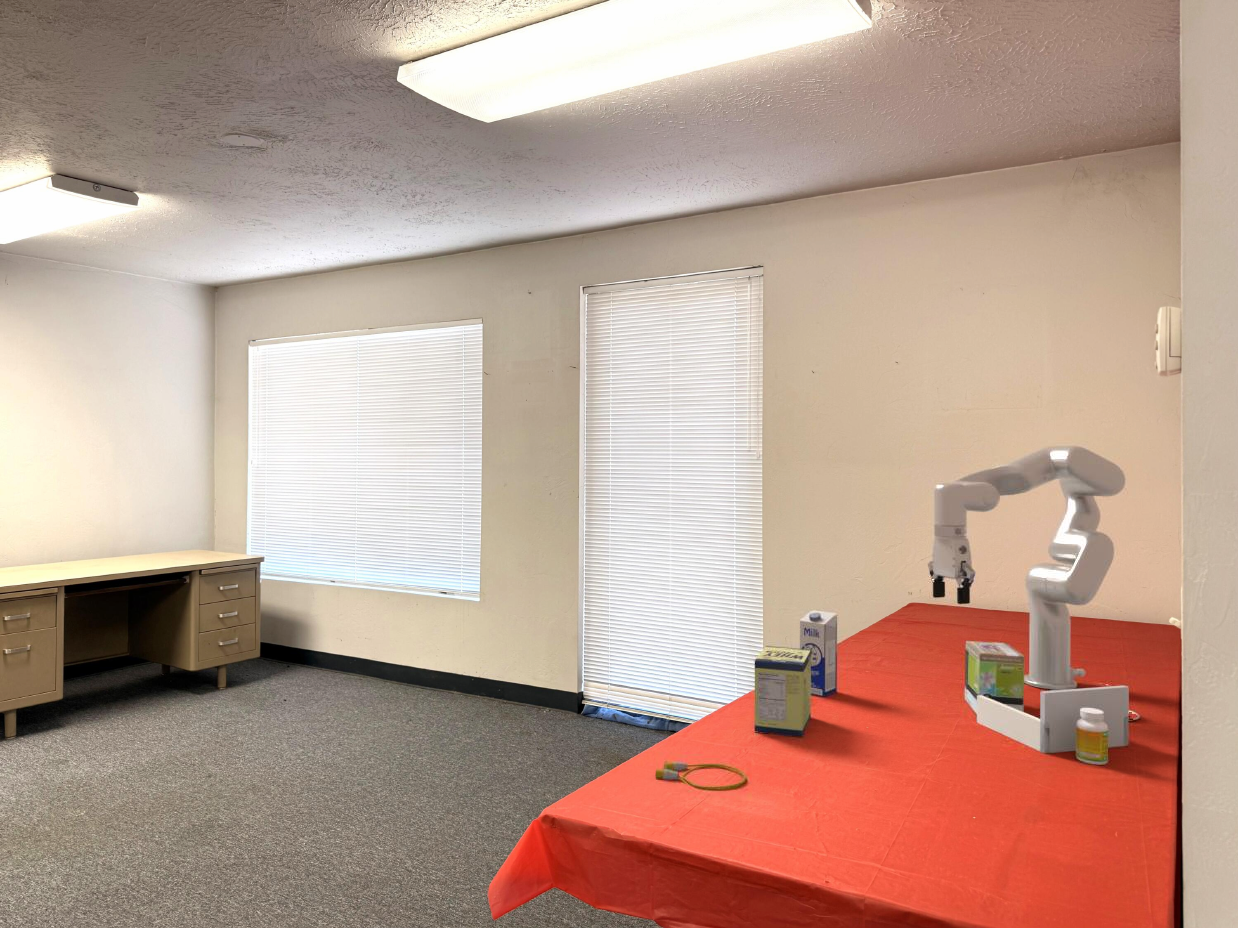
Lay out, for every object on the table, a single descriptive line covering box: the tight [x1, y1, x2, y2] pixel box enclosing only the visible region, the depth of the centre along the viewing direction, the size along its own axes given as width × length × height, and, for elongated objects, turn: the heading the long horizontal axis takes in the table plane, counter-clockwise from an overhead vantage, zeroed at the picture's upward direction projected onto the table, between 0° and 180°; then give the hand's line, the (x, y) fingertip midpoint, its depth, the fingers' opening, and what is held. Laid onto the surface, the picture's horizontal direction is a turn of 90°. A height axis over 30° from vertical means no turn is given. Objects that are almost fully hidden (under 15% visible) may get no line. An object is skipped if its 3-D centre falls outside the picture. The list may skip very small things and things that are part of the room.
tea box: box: [964, 640, 1025, 715], centre depth 193 cm, size 15×10×15 cm
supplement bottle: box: [1075, 708, 1109, 766], centre depth 160 cm, size 5×5×10 cm
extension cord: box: [655, 761, 747, 791], centre depth 150 cm, size 12×16×2 cm
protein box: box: [754, 645, 812, 738], centre depth 181 cm, size 10×16×16 cm
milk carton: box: [798, 609, 838, 698], centre depth 207 cm, size 7×7×20 cm
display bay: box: [976, 685, 1130, 754], centre depth 176 cm, size 20×20×12 cm
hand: (951, 600), depth 206 cm, fingers open, 9 cm apart
